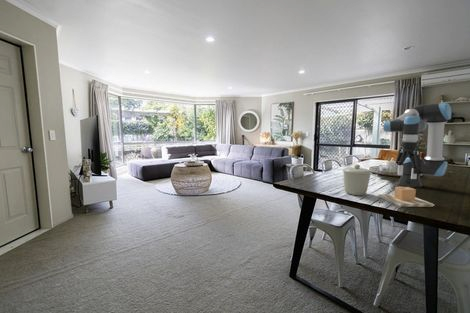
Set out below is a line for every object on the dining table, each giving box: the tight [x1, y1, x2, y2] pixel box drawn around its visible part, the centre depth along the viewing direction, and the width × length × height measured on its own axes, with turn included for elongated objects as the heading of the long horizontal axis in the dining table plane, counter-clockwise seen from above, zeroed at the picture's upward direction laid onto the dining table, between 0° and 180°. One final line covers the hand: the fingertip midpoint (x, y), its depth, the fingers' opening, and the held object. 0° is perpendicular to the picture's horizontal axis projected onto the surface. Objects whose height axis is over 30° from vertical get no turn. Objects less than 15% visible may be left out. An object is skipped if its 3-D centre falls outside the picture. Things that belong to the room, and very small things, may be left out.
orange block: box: [394, 186, 417, 201], centre depth 139 cm, size 8×6×7 cm
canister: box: [342, 164, 373, 196], centre depth 156 cm, size 18×18×21 cm
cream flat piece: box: [377, 193, 435, 208], centre depth 140 cm, size 20×20×6 cm
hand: (406, 176), depth 138 cm, fingers open, 10 cm apart
